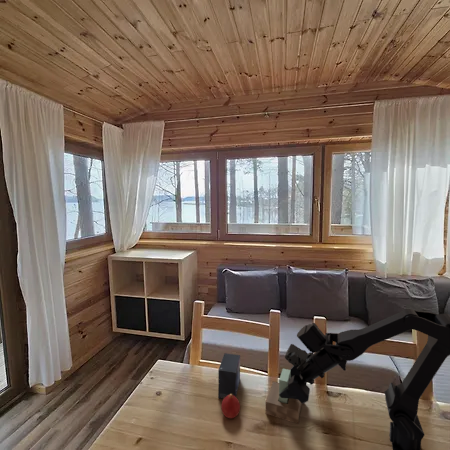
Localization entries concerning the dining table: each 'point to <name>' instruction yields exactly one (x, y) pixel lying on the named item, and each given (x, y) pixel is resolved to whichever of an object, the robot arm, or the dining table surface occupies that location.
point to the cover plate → (284, 384)
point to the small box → (229, 375)
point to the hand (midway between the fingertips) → (283, 386)
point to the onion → (230, 406)
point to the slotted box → (282, 406)
